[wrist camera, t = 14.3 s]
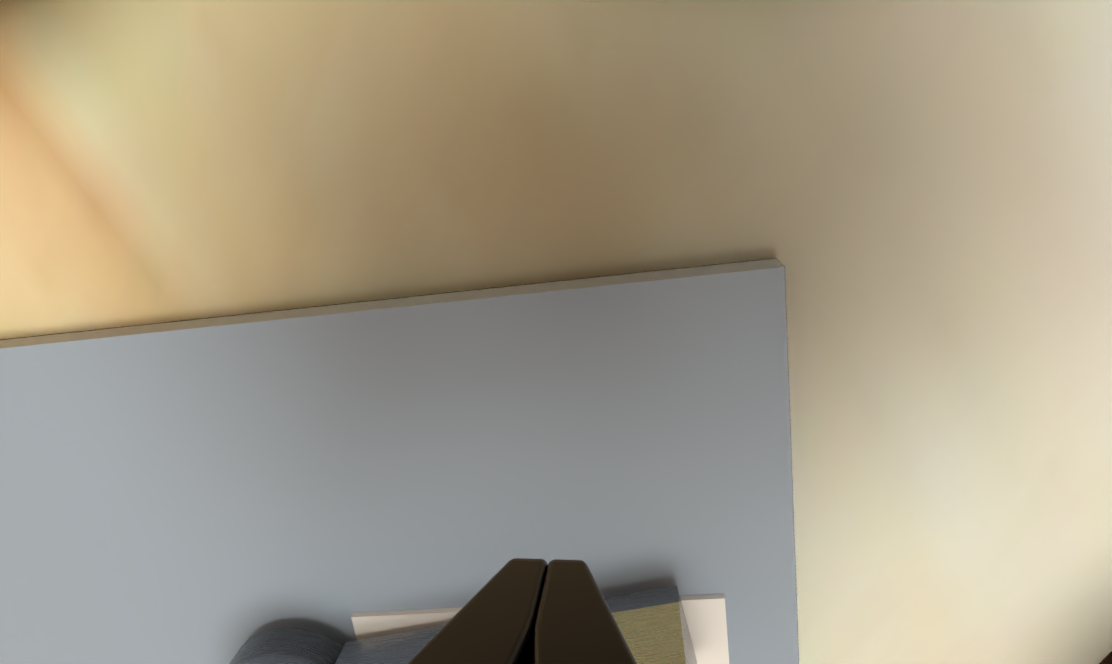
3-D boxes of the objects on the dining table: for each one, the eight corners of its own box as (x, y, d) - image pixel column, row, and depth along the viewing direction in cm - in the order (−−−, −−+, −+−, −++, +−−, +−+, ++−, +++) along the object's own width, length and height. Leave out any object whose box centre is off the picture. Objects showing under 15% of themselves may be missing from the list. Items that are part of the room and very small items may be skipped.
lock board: (-232, 364, 22) (-277, 378, 21) (776, 258, 19) (786, 269, 18) (0, 848, 28) (-26, 879, 27) (799, 838, 25) (807, 874, 23)
